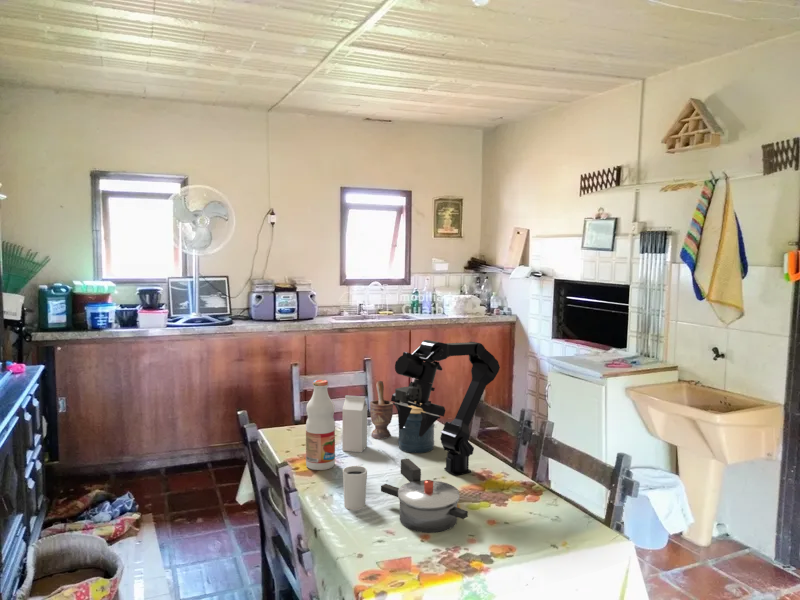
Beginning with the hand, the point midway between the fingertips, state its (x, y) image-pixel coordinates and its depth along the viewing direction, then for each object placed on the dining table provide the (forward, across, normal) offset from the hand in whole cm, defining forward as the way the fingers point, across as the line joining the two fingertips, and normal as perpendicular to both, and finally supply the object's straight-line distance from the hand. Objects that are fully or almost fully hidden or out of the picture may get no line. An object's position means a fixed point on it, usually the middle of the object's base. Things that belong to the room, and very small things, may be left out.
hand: (410, 432), depth 177 cm
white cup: (+22, +1, -14) cm, 27 cm away
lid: (+13, +16, -5) cm, 21 cm away
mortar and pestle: (+8, -45, +27) cm, 53 cm away
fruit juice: (+20, -31, -6) cm, 37 cm away
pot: (+19, +18, -5) cm, 27 cm away
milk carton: (+13, -38, +12) cm, 42 cm away
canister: (+8, -26, +29) cm, 39 cm away
